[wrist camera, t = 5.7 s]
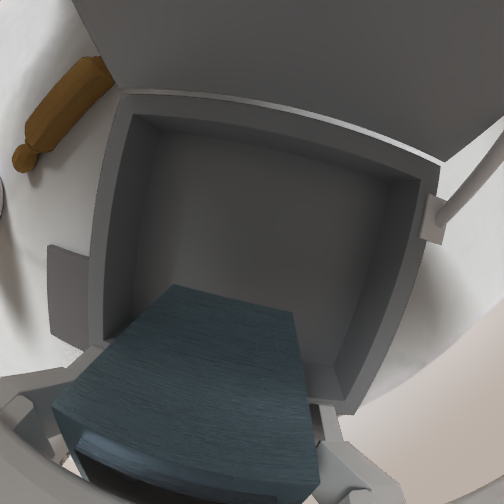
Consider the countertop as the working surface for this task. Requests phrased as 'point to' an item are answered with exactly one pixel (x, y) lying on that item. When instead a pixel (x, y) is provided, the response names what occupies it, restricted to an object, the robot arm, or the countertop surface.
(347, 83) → the lid
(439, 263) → the countertop surface
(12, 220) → the countertop surface
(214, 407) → the block
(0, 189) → the supplement bottle
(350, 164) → the case
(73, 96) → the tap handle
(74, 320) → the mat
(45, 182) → the countertop surface
